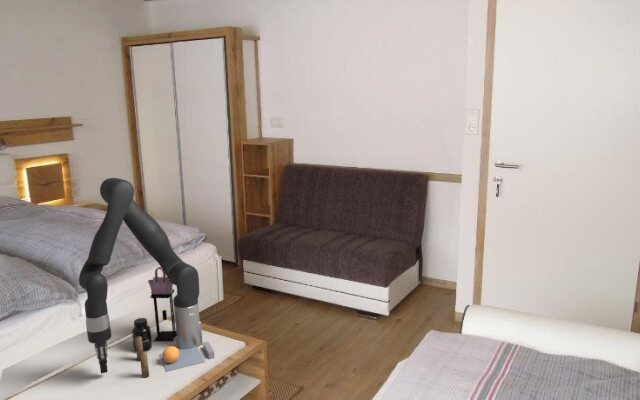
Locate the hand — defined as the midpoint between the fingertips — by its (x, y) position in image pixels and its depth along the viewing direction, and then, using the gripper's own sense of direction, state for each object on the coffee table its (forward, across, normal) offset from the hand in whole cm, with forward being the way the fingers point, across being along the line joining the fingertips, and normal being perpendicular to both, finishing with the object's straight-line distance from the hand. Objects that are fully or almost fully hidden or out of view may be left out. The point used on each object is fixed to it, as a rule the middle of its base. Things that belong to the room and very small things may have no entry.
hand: (104, 371), depth 185 cm
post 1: (+2, +6, -13) cm, 15 cm away
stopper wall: (+2, -1, -37) cm, 37 cm away
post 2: (+2, -6, -13) cm, 15 cm away
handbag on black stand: (+2, +21, -25) cm, 33 cm away
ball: (-1, -1, -23) cm, 23 cm away
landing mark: (+2, 0, -27) cm, 27 cm away
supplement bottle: (+2, +15, -15) cm, 21 cm away
